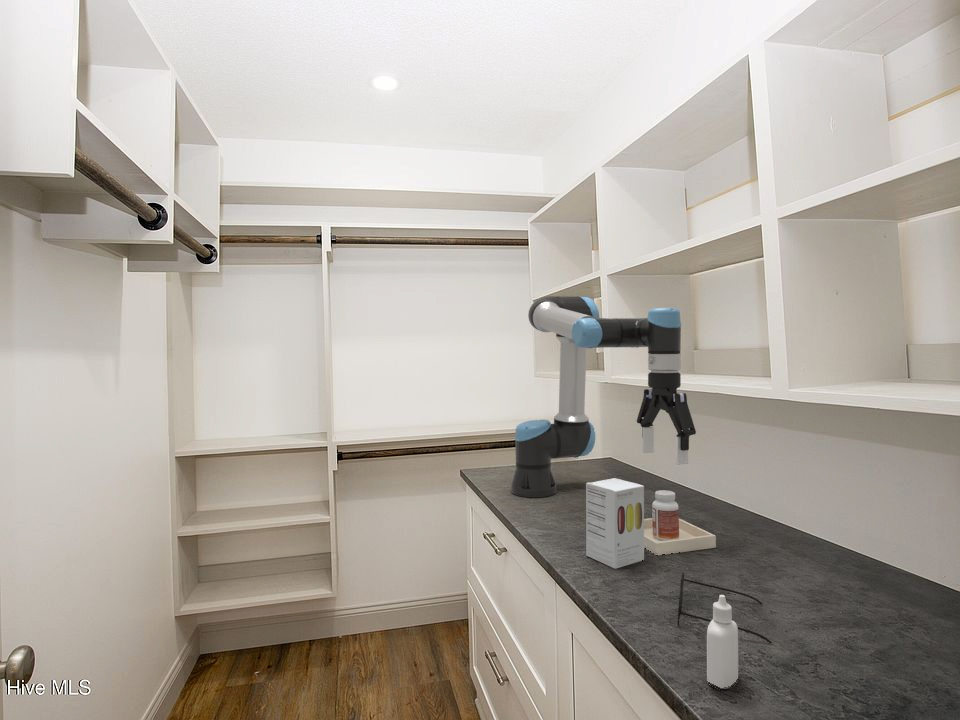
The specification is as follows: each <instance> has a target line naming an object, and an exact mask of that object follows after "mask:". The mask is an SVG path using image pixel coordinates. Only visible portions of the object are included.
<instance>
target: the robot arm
mask: <svg viewBox="0 0 960 720" xmlns="http://www.w3.org/2000/svg"><path fill="white" fill-rule="evenodd" d="M527 318H528V321H529V324H530V325H531V326H532V328H534V329H535V330H536V331H540V332H542V333H551V332H552V333H555V334H556V336H555V337H556V339H557V340H558V341H559V342H560V354H559V355H560V356H559V385H558V386H559V388H558V390H559V392H558V412H557V413H556V414H555V415H554V417H553V423H551V421H550V420H548V419H534V420H527V421H523V422H520V423H519V424H518V425H516V427H515V434H514V435H515V436H514V441H515V443H514V446H515V470H514V473H513V476H512V480H511V484H510V493H511V494H513V495H516V496H519V497H522V498H523V497H524V498H545V497H551V496H554V495H555V494H556V493H557V489H558V488H557V483H556V479H555V476H554V474H553V471H552V463H551V461H552V460H554V459H556V460H557V459H567V458H568V459H569V458H579V457H585V456H588V455H589V454H590V453H591V452H592V451H593V449H594V446H595V443H596V431H595V427H594V425H593V423H591V422H590V419H589V416H587V414H585V413H586V412H585V405H586V404H585V403H586V401H585V399H586V377H587V375H586V371H587V349H597V348H599V349H600V348H636V349H637V348H647V354H648V355H647V356H648V357H647V358H648V360H647V363H648V364H647V366H648V367H647V369H648V370H649V371H650V372H648V374H647V386H648V388H649V389H648V388H646V389H645V388H644V390H643V398H642V401H641V404H640V409H639V411H638V415H637V418H636V423H637V424H640V426H641V428H642V433H641V436H642V453H643V454H651V453H654V451H655V450H654V447H655V446H654V441H655V440H654V438H655V437H654V435H655V434H654V432H655V431H654V424H653V423H654V421H655V419H656V418H657V416H658V415H659V412H660V411H661V410H662V411H665V412H666V413H667V414H668V415H669V417H670V420H671V422H672V423H673V426H674V428H675V430H676V432H677V434H676V435H675V464H676V465H687V464H689V449H690V436H693V435H694V436H695V435H696V433H697V430H696V428H695V425H694V420H693V418H692V414H691V411H690V409H689V405H688V397H687V393H686V392H683V393H681V392H680V393H679V392H677V391H678V388H679V389H680V387H681V386H682V385H681V383H682V382H681V373H680V372H679V371H681V368H682V360H681V356H682V355H681V342H682V341H681V336H682V335H681V334H682V333H681V332H682V331H681V330H682V328H681V327H682V322H681V312H680V309H678V308H677V307H676V308H675V307H658V308H657V307H655V308H650V309H649V310H648V313H647V317H645V318H644V317H642V318H639V317H638V318H635V317H633V318H630V317H629V318H622V317H621V318H620V317H619V318H617V317H616V318H613V317H612V318H608V317H607V318H605V317H604V318H603V317H600V311H599V309H598V306H597V304H596V302H595V301H594V300H593V299H592V298H591V297H585V296H579V295H578V296H577V295H576V296H567V295H566V296H565V295H564V296H563V295H562V296H558V295H557V296H554V295H553V296H552V295H551V296H544V297H541V298H539V299H537V300H535V301H534V302H533V303H532V304H531V306H530V307H529V309H528V316H527Z"/></svg>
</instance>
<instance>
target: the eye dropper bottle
mask: <svg viewBox="0 0 960 720" xmlns="http://www.w3.org/2000/svg"><path fill="white" fill-rule="evenodd" d="M711 620H712V621H711V622H709V624H708V626H707V629H706V681H708V682H710V683H712V684H714V685H716V686H718V687H720V688H724V687H728V686H731V685H732V684H733V683H734V682H736V680H737V679H739V629H738V627H739V626H738V624H737V623H736V621H734V620H733V608H732V606H731V604H729V603H728V602H727V599H726V596H725V595H724V594H719V597H718V601H715V602H713V604H712V619H711ZM737 681H738V680H737ZM708 682H707V683H708ZM736 683H737V682H736Z"/></svg>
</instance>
